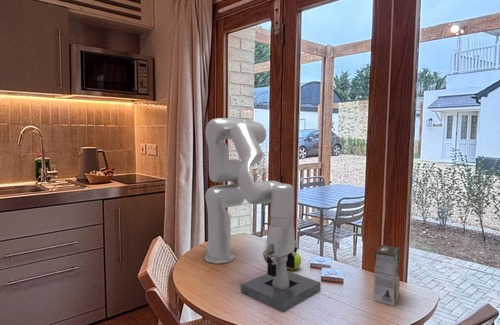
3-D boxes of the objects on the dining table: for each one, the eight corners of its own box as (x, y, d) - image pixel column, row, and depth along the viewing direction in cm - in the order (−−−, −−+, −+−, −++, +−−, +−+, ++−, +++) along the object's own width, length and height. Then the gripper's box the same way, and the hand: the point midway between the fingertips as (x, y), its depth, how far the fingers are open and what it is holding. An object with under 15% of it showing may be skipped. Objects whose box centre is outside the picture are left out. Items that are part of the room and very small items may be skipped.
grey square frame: (241, 292, 115) (241, 284, 115) (279, 276, 129) (279, 268, 129) (283, 312, 102) (283, 302, 102) (320, 291, 116) (320, 282, 116)
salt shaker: (288, 296, 112) (288, 257, 111) (271, 294, 113) (271, 256, 112) (290, 288, 118) (290, 251, 117) (273, 287, 119) (273, 250, 118)
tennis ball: (283, 272, 133) (283, 254, 132) (283, 265, 140) (283, 248, 139) (301, 272, 132) (301, 255, 132) (300, 266, 139) (300, 249, 139)
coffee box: (379, 290, 117) (380, 244, 116) (399, 294, 114) (401, 247, 113) (373, 300, 109) (374, 251, 108) (394, 306, 106) (396, 255, 105)
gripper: (289, 215, 123) (288, 262, 124) (255, 223, 110) (255, 275, 112) (306, 218, 117) (305, 267, 119) (273, 227, 105) (272, 282, 106)
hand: (281, 271), depth 115 cm, fingers open, 9 cm apart
